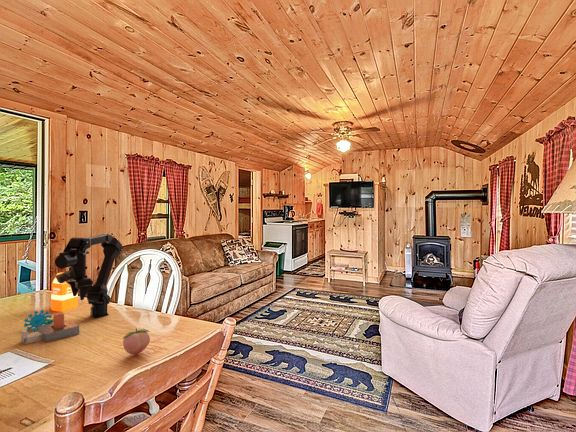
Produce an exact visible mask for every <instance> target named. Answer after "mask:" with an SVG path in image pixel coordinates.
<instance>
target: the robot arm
mask: <svg viewBox="0 0 576 432" xmlns="http://www.w3.org/2000/svg"><path fill="white" fill-rule="evenodd" d="M99 244H100V246H101V248H103V250H102V252H103V255H104V257H103V260H102V263H101V266H100V269H99V272H98V275H97V277H96V281H95V283H94V280H93V279H92V278H90V277H88V275H87V270H88V266H87V254H90V252H89V250H88V249H90V248H91V247H92V246H94V245H99ZM122 250H123V244H122V243H121V241H120V240H118V239H117V238H115V237H114V236H112V234H110V233H101V234H98V235H93V236H92V235H91V236H88V237H75V236H74V237H71V238H70V239H69V241H68V242H67V244H66V246H65V248H64V249H63V251H62V252H59V255H58V256H56V258H55V260H54V265H55V266H56V267H57V269H66V268H68V270H67V271H63V273H62V272H60V273H61V274H59V275H57V274H56V275H55V277H56V279H57V281H58V283H60V284H61V283H64V282H65V281H66V283H68V284H69V285H70V287H71V290H72V293H73V296H76V295H77V293H79V299H80V301H84V299H85V298H86V299H87V302H88V305H91V307H90V313H89V314H90V317H92V318H94V319H97V318H101V317H106V316H109V313H108V304H110V303H111V299H112V298H111V296H110V295H109V294H108V292H109V289H108V287H107V283H108V281H109V277H110V275H111V271H112V268H113V266H114V262H115V260H116V258H118V257H119V255H120V254H121V253H122ZM55 277H54V278H55Z"/></svg>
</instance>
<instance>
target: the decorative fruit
mask: <svg viewBox="0 0 576 432" xmlns="http://www.w3.org/2000/svg"><path fill="white" fill-rule="evenodd" d="M149 332H150V330H148V329H146V328H141V329H138V328H135V330H133V331H132V330H131V331H130V332H127V333H126V334H125V335H124V336H122V337H123V338H122V339H123V341H122V345H123V348H124V350H125V352H126V353H127V354H130V355H135V356H136V355H139V354H140V353H142V352H143V351H144V350H146V348H147V347H148V345H149V344H150V340H151V338H150V337H151V336H150V335H149Z"/></svg>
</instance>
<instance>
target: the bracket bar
mask: <svg viewBox="0 0 576 432" xmlns="http://www.w3.org/2000/svg"><path fill="white" fill-rule="evenodd" d="M39 341H43V334H42V333H41V332H37V331H35V332H31V333H28V330H26V329H25V328H22V329H21V343H22V344H23V345H24V346H25V345H29V344H31V343H36V342H39Z"/></svg>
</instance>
